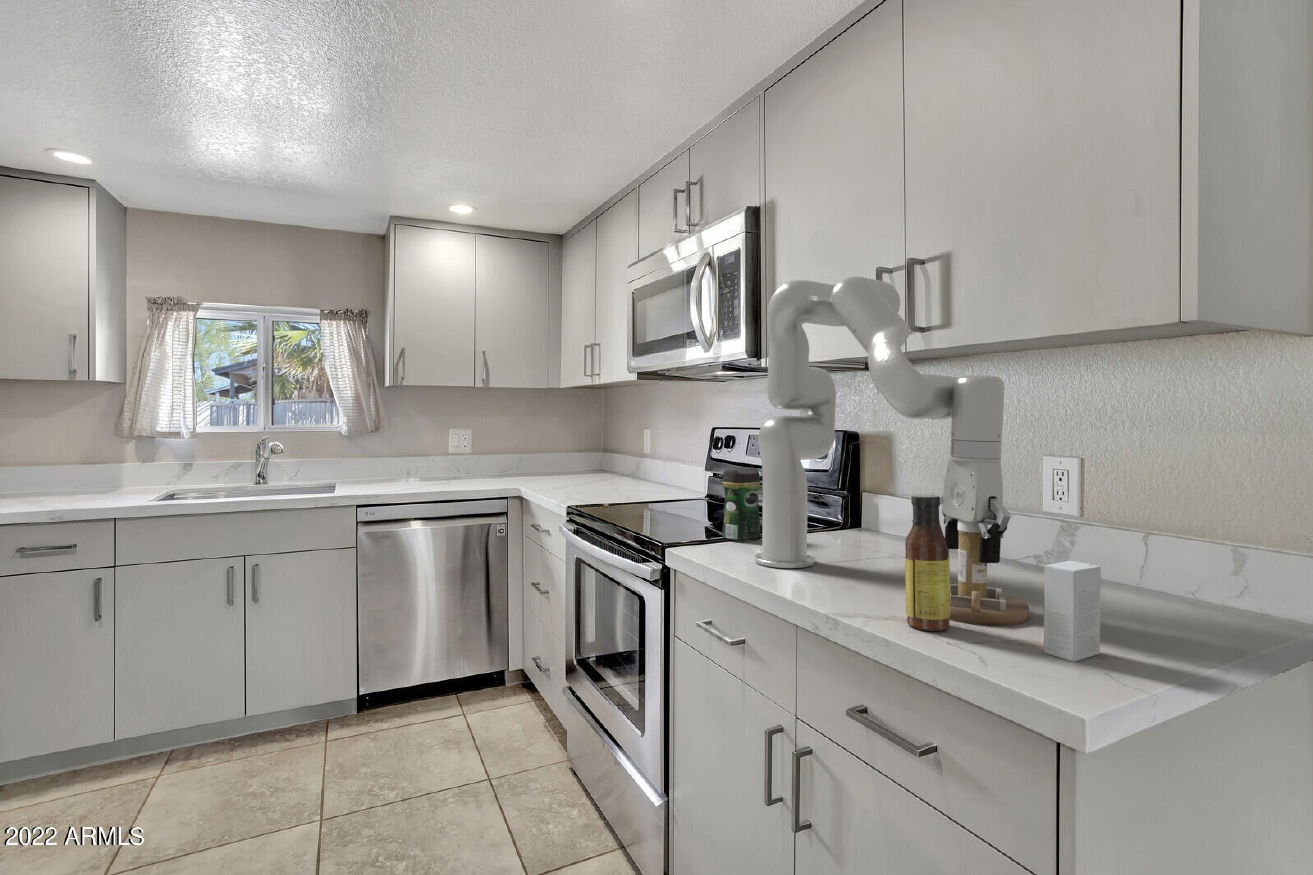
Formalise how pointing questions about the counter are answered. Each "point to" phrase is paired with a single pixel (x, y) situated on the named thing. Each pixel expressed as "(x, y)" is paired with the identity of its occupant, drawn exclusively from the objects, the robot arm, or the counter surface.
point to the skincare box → (1072, 610)
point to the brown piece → (987, 608)
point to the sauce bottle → (927, 568)
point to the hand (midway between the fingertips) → (970, 555)
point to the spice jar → (970, 561)
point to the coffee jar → (741, 504)
